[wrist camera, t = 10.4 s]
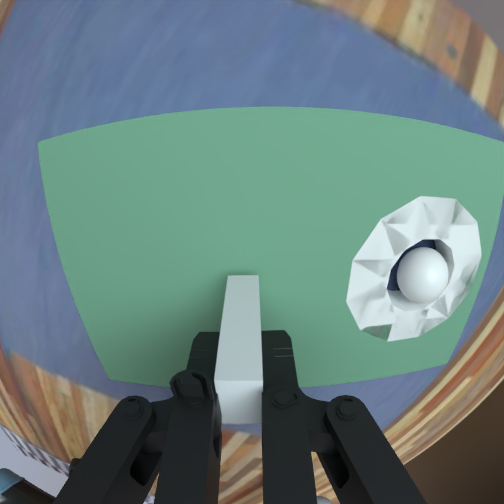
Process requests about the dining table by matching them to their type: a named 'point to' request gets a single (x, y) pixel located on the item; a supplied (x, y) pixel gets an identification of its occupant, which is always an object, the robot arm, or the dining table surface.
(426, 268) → the ball
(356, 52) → the dining table surface
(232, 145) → the putting mat
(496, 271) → the dining table surface
